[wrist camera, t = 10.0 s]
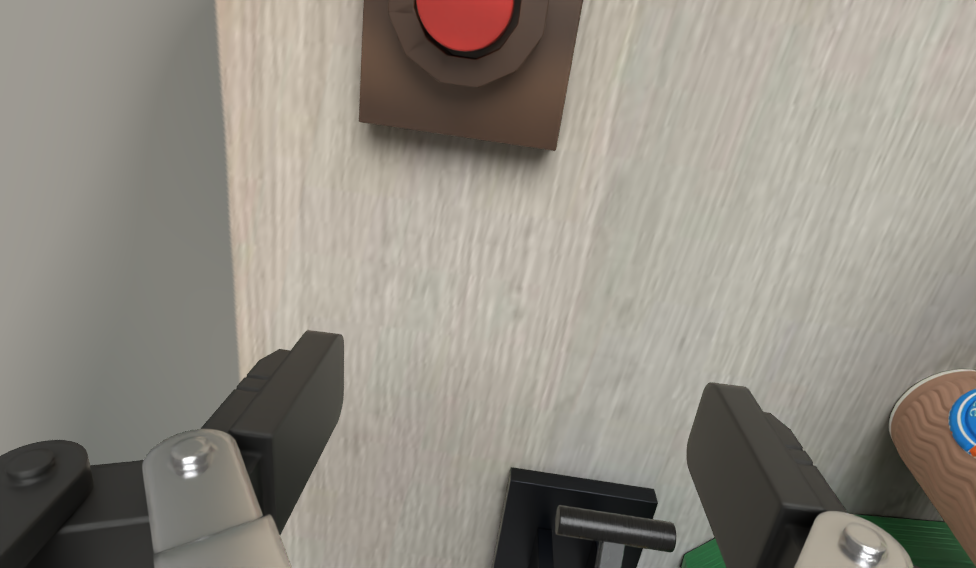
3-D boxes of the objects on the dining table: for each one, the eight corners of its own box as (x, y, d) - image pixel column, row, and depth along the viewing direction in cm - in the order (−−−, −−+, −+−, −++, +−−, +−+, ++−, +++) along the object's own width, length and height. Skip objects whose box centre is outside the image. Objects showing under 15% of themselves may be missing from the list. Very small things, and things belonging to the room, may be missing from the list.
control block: (383, -156, 25) (358, -190, 22) (601, -124, 25) (614, -154, 21) (369, 117, 30) (347, 126, 26) (554, 144, 30) (557, 157, 26)
